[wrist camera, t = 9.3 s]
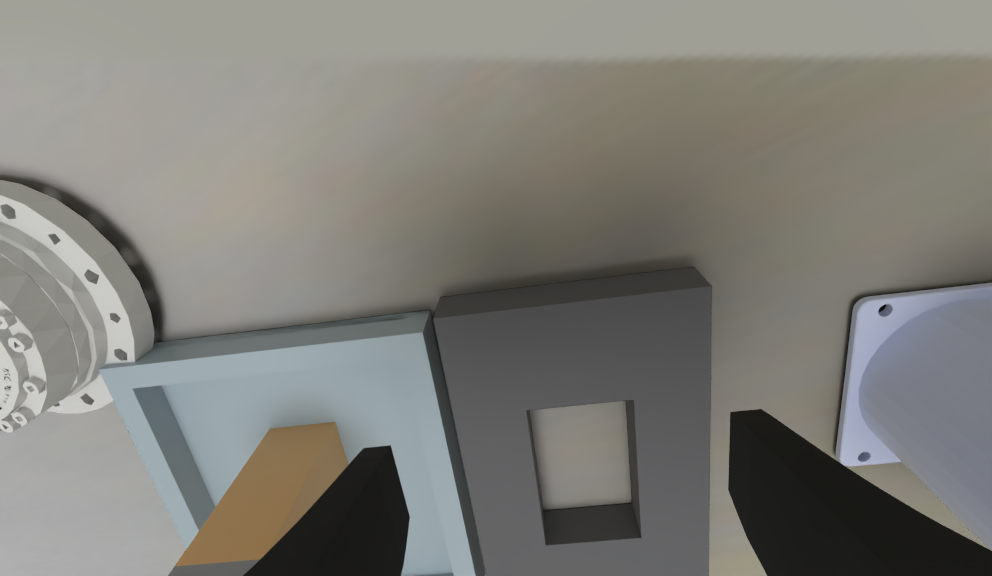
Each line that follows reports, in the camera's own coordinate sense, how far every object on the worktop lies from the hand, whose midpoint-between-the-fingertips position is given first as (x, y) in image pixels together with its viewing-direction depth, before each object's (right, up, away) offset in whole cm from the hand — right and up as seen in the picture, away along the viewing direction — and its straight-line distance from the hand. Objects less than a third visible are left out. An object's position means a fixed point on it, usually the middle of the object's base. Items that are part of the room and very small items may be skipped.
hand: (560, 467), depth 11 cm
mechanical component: (-20, +4, +11) cm, 23 cm away
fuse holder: (+2, -3, +13) cm, 13 cm away
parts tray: (-9, -5, +14) cm, 17 cm away
